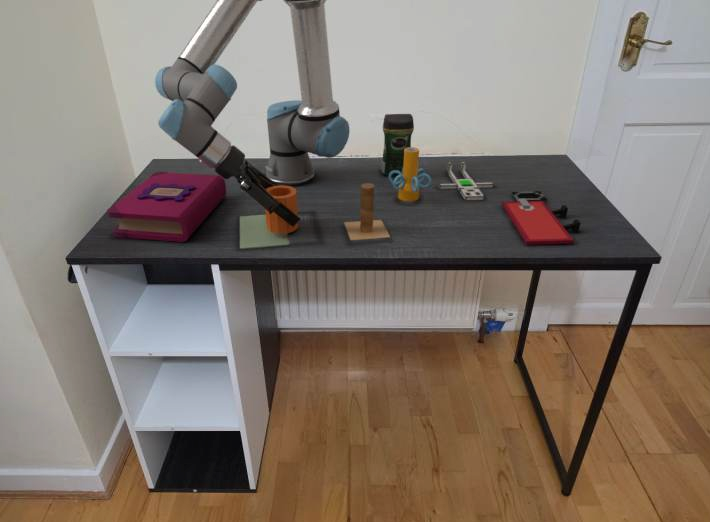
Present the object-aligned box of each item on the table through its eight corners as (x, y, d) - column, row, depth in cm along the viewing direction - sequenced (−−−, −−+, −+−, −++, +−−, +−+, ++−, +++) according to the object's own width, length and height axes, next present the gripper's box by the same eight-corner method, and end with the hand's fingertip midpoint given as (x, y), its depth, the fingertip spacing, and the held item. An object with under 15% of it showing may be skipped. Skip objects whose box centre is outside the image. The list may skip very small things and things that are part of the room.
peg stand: (343, 226, 136) (343, 179, 129) (381, 223, 138) (383, 176, 131) (350, 244, 128) (350, 195, 121) (390, 241, 129) (392, 192, 122)
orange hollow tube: (265, 220, 135) (262, 186, 130) (296, 218, 136) (294, 184, 131) (267, 234, 129) (264, 199, 124) (299, 232, 130) (297, 196, 125)
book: (227, 198, 152) (224, 173, 148) (189, 243, 129) (183, 215, 125) (160, 193, 156) (155, 169, 151) (111, 237, 132) (103, 209, 128)
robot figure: (430, 173, 168) (446, 200, 149) (431, 163, 166) (447, 190, 148) (480, 171, 168) (502, 199, 150) (482, 161, 167) (504, 188, 148)
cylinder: (432, 196, 152) (437, 145, 144) (425, 210, 144) (430, 158, 136) (391, 191, 156) (394, 141, 147) (382, 205, 147) (385, 153, 139)
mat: (239, 217, 141) (239, 216, 141) (312, 212, 144) (312, 210, 144) (240, 249, 127) (239, 248, 126) (321, 242, 129) (321, 241, 129)
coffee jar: (409, 168, 172) (413, 110, 161) (412, 176, 165) (417, 117, 155) (379, 168, 171) (381, 111, 161) (382, 177, 165) (384, 118, 155)
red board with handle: (546, 194, 152) (494, 195, 152) (548, 185, 150) (496, 186, 151) (587, 244, 127) (526, 246, 127) (590, 234, 126) (528, 236, 126)
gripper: (214, 153, 130) (282, 208, 141) (210, 185, 113) (288, 244, 124) (233, 131, 128) (301, 188, 139) (232, 160, 111) (309, 222, 122)
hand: (295, 215), depth 131 cm, fingers closed on orange hollow tube, 8 cm apart
